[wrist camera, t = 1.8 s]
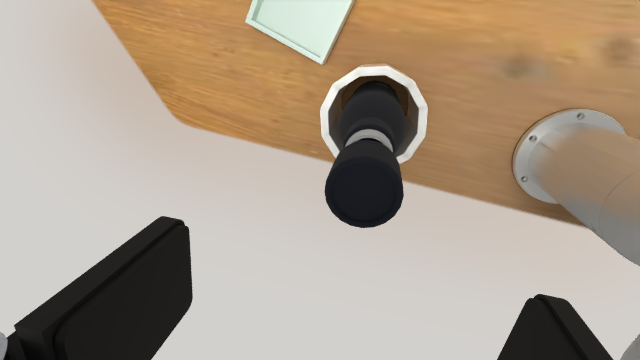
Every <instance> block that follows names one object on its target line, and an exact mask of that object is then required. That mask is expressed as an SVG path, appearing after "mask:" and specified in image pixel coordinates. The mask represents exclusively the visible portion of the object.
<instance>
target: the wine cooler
mask: <svg viewBox="0 0 640 360" xmlns="http://www.w3.org/2000/svg"><path fill="white" fill-rule="evenodd" d="M375 75H386V76H388V77H390V78H392V79H393V80H395V81H397V82H399V83H401V84H402V85H404V87H405V89H406V91H407V92H408V94H409V101H408V114H407V115H406V132H405V136H404V139H403V141H402V143H401V144H400V146H399V148H398V149H397V151H396V152H395V156H396V158H397V160H398V162H399V164H401V163H403V162H404V161H406V160H408V159H410V158H411V156H412V155H413V153H414V152H415V150H416V149H417V147H418V146H419V144H420V143H421V142H422V140H423V139H424V137H425V136H426V124H427V111H428V106H427V104H426V102H425V100H424V99H423V97H422V95H421V93H420V91H419V89H418V87H417V85H416V83H415V81H414V80H413V79H411V78H410V77H409V76H407V75H406V74H404V73H403V72H401V71H399V70H397V69H396V68H394V67H392V66H390V65H388V64H387V63H378V64H363V65H361V66H359V67H357V68H356V69H355V70H353V71H352V72H350V73H349V74H347V75H346V76H344V77H343V78H341V79H340V80H338V81H337V82H335V83H333V85H332V87H331V89H330V91H329V93H328V95H327V97H326V99H325V101H324V103H323V105H322V107H321V109H320V115H321V135H322V138H323V139H324V141H325V143H326V144H327V146H328V147H329V149H330V150H331V152H332V154H333V155H334V157H335V158H337V156H338V154H339V152H340V151H341V150H343V145H342V143H341V141H340V137H339V130H338V123H339V117H340V114H341V112H342V103H341V97H342V95H343V93H344V91H345V89H346V87H347V85H348V84H349V83H350V82H352V81H353V80H355V79H356V78H358V77H359V76H375Z"/></svg>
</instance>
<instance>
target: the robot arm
mask: <svg viewBox="0 0 640 360" xmlns="http://www.w3.org/2000/svg"><path fill="white" fill-rule="evenodd" d="M578 114H579V115H578ZM577 115H578V116H577ZM530 136H532V137H531V138H530V139H529V137H530ZM512 167H513V173H514V177H515V179H516V181H517V182H518V184H519V185H520V187H521V188H522V189H523V190H524V191H525V192H527V193H528V194H529V195H530V196H532V197H534V198H535V199H537V200H540V201H543V202H546V203H553V204H560V205H561V206H563V207H564V208H565V209H566V210H567V211H569V212H570V213H571V214H572V215H574V216H575V217H576V218H577V219H578V220H580V221H581V222H582V223H583V224H584V225H586V226H587V227H588V228H589V229H590V230H592V231H593V232H594V233H595V234H596V235H598V236H599V237H600V238H601V239H603V240H604V241H605V242H606V243H607V244H608V245H610V246H611V247H612V248H614V249H615V250H616V251H617V252H618V253H620V254H621V255H622V256H624V257H625V258H627V259H628V260H630V261H631V262H633V263H635V264H637V265H639V266H640V140H639V139H636V138H633V137H630V136H627V135H626V133H625V130H624V128H623V127H622V126H621V125H620V124H619V122H618V121H616V120H615V119H614V118H612V117H611V116H609V115H607V114H604V113H602V112H599V111H595V110H590V109H581V108H580V109H568V110H564V111H559V112H557V113H554V114H551V115H549V116H547V117H545V118H543V119H542V120H540V121H538V122H537V123H536V124H535V125H533V126H532V127H531V128H530V129H529V130H528V131H527V132H526V133H525V134H524V135H523V136H522V138H521V139H520V141H519V143H518V144H517V147H516V149H515V152H514V155H513V161H512ZM523 176H524V177H523ZM522 177H523V178H522ZM191 302H192V277H191V257H190V238H189V228H188V227H187V226H185V224H184V222H183V221H182V220H179V219H174V218H170V217H165V216H161V217H160V218H158V219H156V220H155V221H154V222H152V223H151V224H150V225H148V226H147V227H146V228H144V229H143V230H142V231H141V232H139V233H138V234H136V235H135V236H133V237H132V238H131V239H129V240H128V241H127V242H125V243H124V244H123V245H121V246H120V247H119V248H118V249H116V250H115V251H113V252H112V253H111V254H109V255H108V256H107V257H105V258H104V259H103V260H101V261H100V262H99V263H97V264H96V265H94V266H93V267H92V268H90V269H89V270H88V271H87V272H85V273H84V274H82V275H81V276H80V277H78V278H77V279H76V280H74V281H73V282H72V283H70V284H69V285H68V286H66V287H65V288H64V289H62V290H61V291H59V292H58V293H57V294H56V295H54V296H53V297H51V298H50V299H49V300H47V301H46V302H45V303H43V304H42V305H41V306H39V307H38V308H37V309H35V310H34V311H33V312H31V313H30V314H29V315H27V316H26V317H24V318H23V319H22V320H20V321H19V322H18V323H16V324H15V325H14V327H15V329H16V331H15V332H14V333H12V334H11V335H10V336H8V337H7V338H6V337H5V335H4V334H3V333H0V360H151V359H152V358H153V356H154V355H155V354H156V352H157V351H158V350H159V348H160V347H161V346H162V344H163V343H164V342H165V340H166V339H167V338H168V336H169V335H170V334H171V332H172V331H173V330H174V328H175V327H176V325H177V324H178V323H179V322H180V320H181V319H182V317H183V316H184V315H185V313H186V312H187V311H188V309H189V307H190V305H191ZM497 360H613V359H612V358H611V356H610V355H609V354H608V352H607V351H606V350H605V348H604V347H603V346H602V344H601V343H600V342H599V341H598V339H597V338H596V337H595V335H594V334H593V333H592V331H591V330H590V329H589V328H588V326H587V325H586V324H585V322H584V321H583V320H582V318H581V317H580V316H579V315H578V313H577V312H576V311H575V309H574V308H573V307H572V305H571V304H570V303H569V302H568V301H566V300H565V299H562V298H556V297H552V296H547V295H543V294H538V295H536V296H535V297H534V298H529V299H528V300H527V301H526V303H525V305H524V307H523V309H522V311H521V313H520V315H519V317H518V319H517V321H516V323H515V325H514V327H513V329H512V331H511V333H510V335H509V337H508V339H507V341H506V343H505V345H504V347H503V349H502V351H501V353H500V355H499V357H498V359H497ZM620 360H640V334H639V335H638V337H637V338H636V339H635V340H634V341H633V342H632V344H631V345H630V346H629V347H628V348H627V350H626V351H625V352H624V354H623V356H622V357H621V359H620Z"/></svg>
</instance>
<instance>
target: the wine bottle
mask: <svg viewBox="0 0 640 360" xmlns="http://www.w3.org/2000/svg"><path fill="white" fill-rule="evenodd" d="M338 130H339V137H340V141H341V143H342V145H343V150H341V151H340V152H339V154H338V156H337V158H336V159H335V161H334V164H333V166H332V168H331V171H330V173H329V176H328V178H327V180H326V185H325V196H326V202H327V204H328V206H329V208H330V209H331V211H332V213H333V214H334V215H335V216H337V217H338V218H339V219H340V220H341V221H343V222H345V223H347V224H349V225H351V226H355V227H360V228H367V227H375V226H378V225H381V224H384V223H386V222H387V221H388V220H390V219H391V218H392V217H394V216H395V214H396V213H397V211H398V210H399V208H400V207H401V203H402V200H403V196H404V195H403V184H402V178H401V172H400V166H399V162H398V160H397V158H396V156H395V152H396V151H397V149H398V148H399V146H400V144H401V143H402V141H403V139H404V136H405V132H406V117H405V114H404V112H403V109H402V107H401V104H400V102H399V99H398V97H397V95H396V92H395V91H394V89H393V88H392V87H391V86H390V85H388V84H386V83H385V82H382V81H376V80H375V81H369V82H366V83H364V84H363V85H361V86H360V87H359V88H358V89H357V90H356V91H355V92H354V94H353V95H352V97H351V98H350V99H349V101H348V102H347V104H346V105H345V107H344V108H343V110H342V112H341V114H340V117H339V123H338Z"/></svg>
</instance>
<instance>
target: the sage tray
mask: <svg viewBox="0 0 640 360" xmlns="http://www.w3.org/2000/svg"><path fill="white" fill-rule="evenodd" d="M354 2H355V0H253V1H252V4H251V7H250V10H249V13H248V16H247V18H246V21H245V22H246V23H248V24H250V25H252V26H253V27H255V28H257V29H259V30H261V31H262V32H264V33H266V34H268V35H269V36H271V37H273V38H275V39H277V40H278V41H280V42H282V43H284V44H286V45H287V46H289V47H291V48H293V49H295V50H296V51H298V52H300V53H302V54H303V55H305V56H307V57H309V58H311V59H312V60H314V61H316V62H318V63H320V64H321V65H323V64H325V63H326V61H327V59H328V57H329V55H330V52H331V50H332V48H333V46H334V44H335V42H336V40H337V38H338V36H339V34H340V32H341V29H342V27H343V25H344V23H345V21H346V19H347V17H348V15H349V13H350V11H351V9H352V7H353V4H354Z"/></svg>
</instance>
